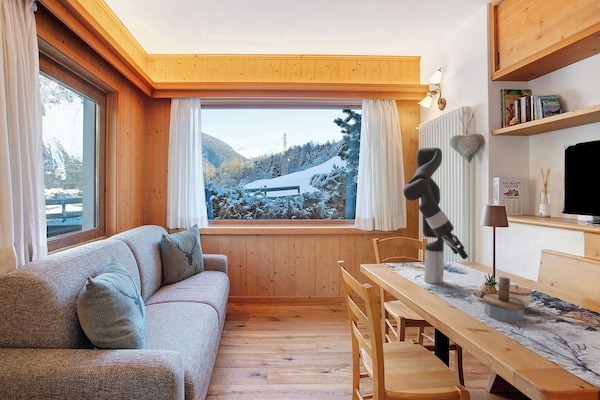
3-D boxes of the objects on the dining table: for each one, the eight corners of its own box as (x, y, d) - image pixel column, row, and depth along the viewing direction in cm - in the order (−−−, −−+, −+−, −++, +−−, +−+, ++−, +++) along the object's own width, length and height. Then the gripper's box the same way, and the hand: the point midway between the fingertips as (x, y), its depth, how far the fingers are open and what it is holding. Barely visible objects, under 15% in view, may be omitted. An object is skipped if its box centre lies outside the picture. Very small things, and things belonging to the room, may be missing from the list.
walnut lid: (491, 294, 135) (492, 271, 134) (530, 304, 124) (531, 279, 123) (477, 301, 126) (477, 277, 126) (517, 312, 115) (518, 285, 115)
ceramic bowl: (493, 307, 133) (494, 296, 133) (526, 317, 124) (527, 304, 124) (480, 313, 126) (481, 301, 126) (514, 324, 117) (515, 311, 117)
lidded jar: (526, 304, 138) (526, 283, 138) (535, 313, 128) (536, 290, 128) (498, 301, 142) (498, 280, 141) (504, 309, 131) (505, 287, 131)
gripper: (453, 220, 121) (477, 254, 121) (441, 215, 136) (462, 246, 135) (436, 230, 122) (460, 264, 122) (426, 225, 137) (447, 256, 136)
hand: (461, 255), depth 129 cm, fingers open, 8 cm apart
